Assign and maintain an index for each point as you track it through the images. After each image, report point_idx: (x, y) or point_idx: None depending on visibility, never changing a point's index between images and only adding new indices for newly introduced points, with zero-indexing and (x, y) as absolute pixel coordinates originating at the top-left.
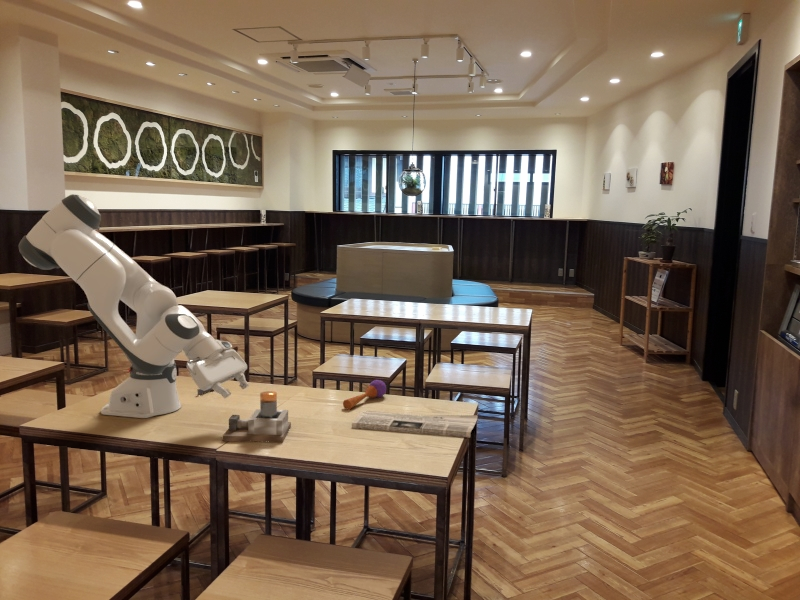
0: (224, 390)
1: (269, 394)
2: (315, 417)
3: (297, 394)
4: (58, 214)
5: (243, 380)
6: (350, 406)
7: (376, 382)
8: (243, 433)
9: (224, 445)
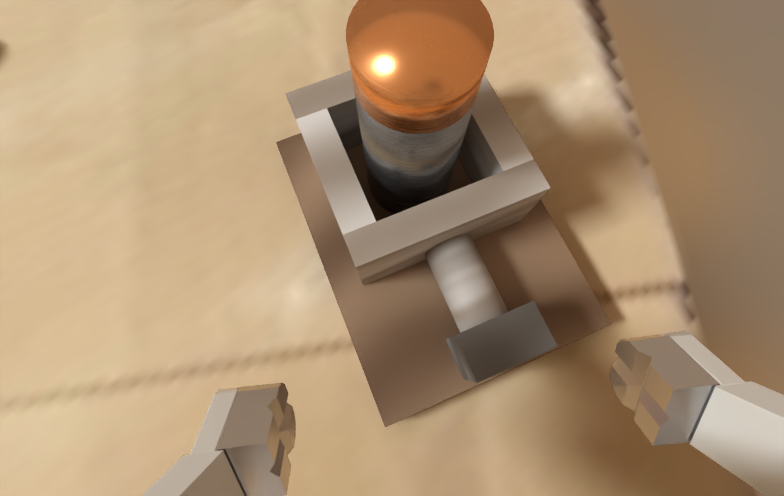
0: (739, 383)
1: (445, 7)
2: (114, 130)
3: None
4: None
5: (214, 474)
6: None
7: None
8: (526, 247)
9: (629, 282)
